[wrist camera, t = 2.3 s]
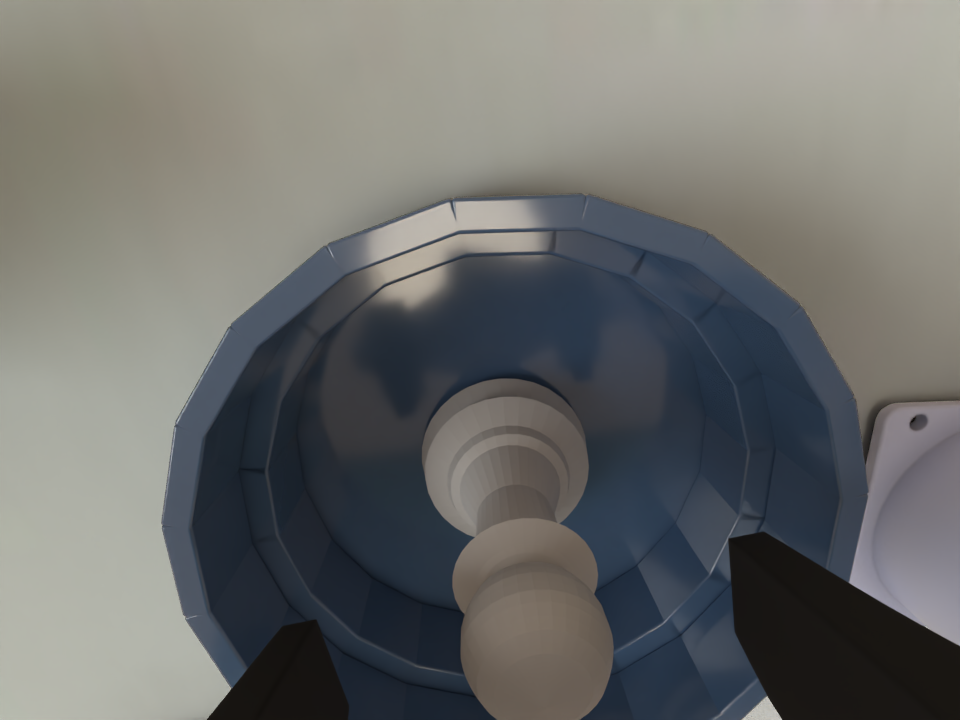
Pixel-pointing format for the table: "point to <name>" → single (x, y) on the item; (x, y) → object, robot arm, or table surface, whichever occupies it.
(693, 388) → the bowl
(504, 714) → the chess piece
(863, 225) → the table surface
